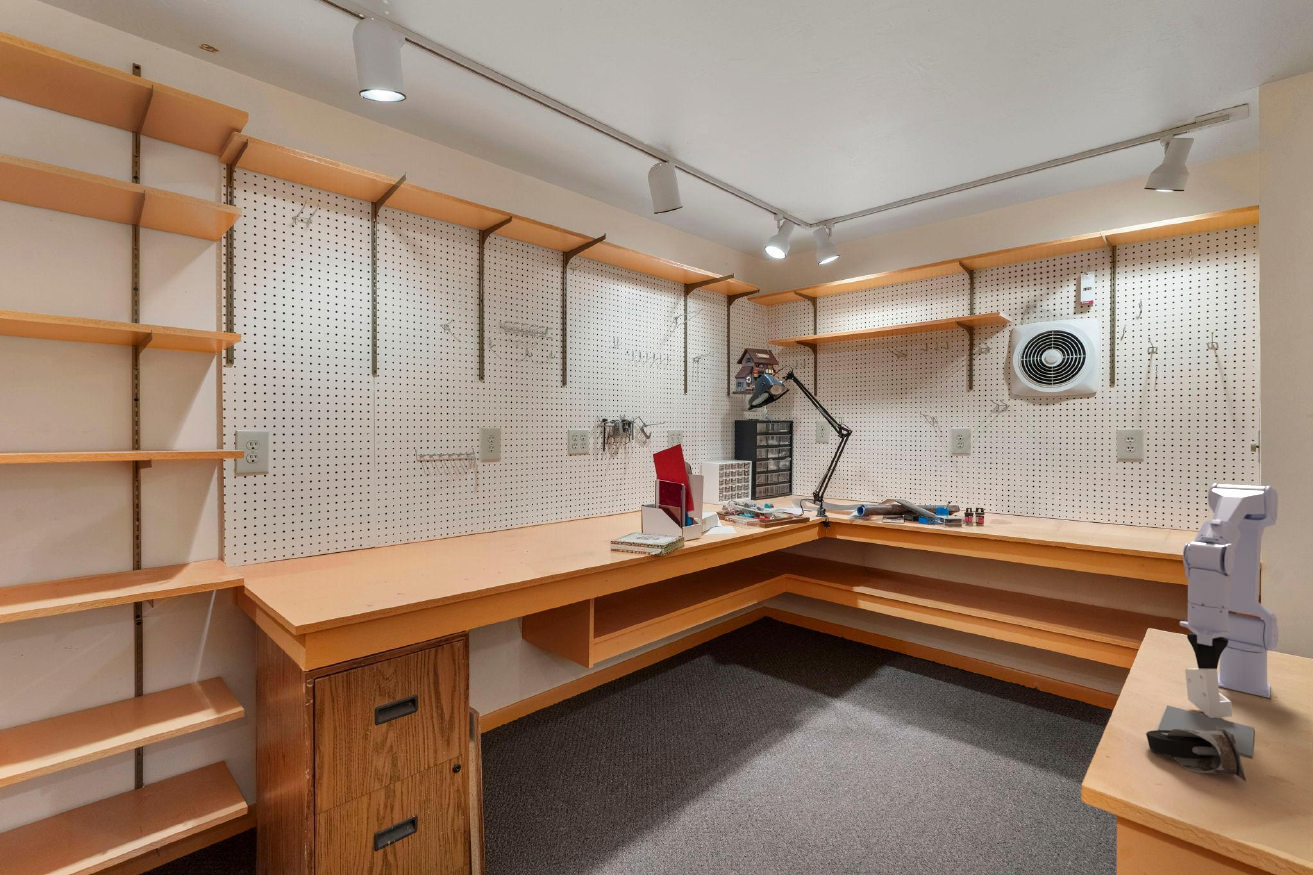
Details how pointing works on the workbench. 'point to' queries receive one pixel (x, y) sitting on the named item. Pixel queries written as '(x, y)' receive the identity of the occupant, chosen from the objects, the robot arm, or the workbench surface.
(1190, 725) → the rubber mat
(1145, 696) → the workbench surface
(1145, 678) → the workbench surface
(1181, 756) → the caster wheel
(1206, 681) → the white angled block
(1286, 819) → the workbench surface
